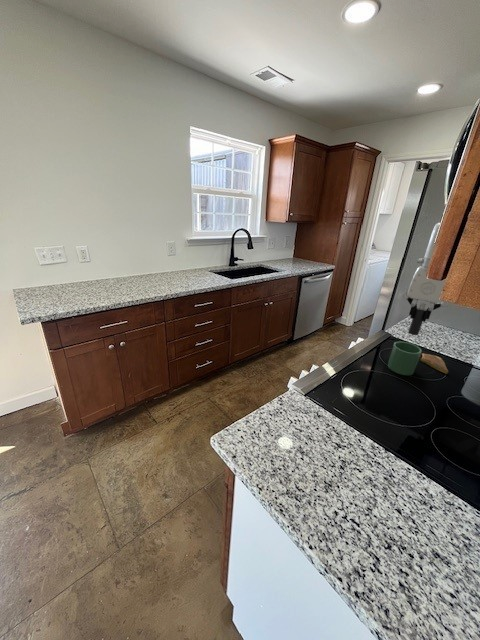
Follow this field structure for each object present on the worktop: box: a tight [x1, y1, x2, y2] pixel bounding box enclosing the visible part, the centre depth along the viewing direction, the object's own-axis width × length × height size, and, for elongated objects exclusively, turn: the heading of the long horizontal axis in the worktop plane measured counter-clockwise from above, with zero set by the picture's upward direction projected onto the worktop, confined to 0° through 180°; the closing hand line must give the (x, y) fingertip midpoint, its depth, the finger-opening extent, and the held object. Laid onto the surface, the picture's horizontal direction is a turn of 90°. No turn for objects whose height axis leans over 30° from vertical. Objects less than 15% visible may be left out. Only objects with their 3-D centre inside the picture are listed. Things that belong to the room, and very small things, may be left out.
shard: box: [420, 352, 449, 375], centre depth 100 cm, size 11×8×2 cm
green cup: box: [387, 341, 422, 376], centre depth 96 cm, size 9×9×9 cm
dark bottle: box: [408, 302, 427, 336], centre depth 89 cm, size 3×3×11 cm
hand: (418, 318), depth 89 cm, fingers closed on dark bottle, 3 cm apart
